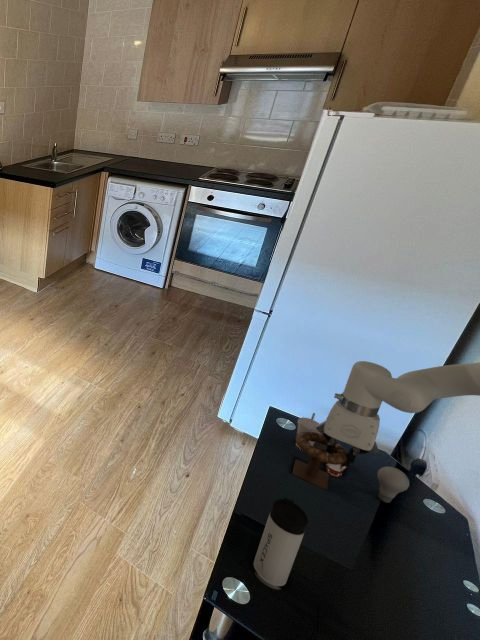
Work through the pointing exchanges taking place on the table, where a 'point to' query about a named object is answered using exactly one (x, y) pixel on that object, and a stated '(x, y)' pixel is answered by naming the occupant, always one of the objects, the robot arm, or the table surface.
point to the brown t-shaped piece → (312, 471)
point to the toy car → (335, 469)
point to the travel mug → (280, 543)
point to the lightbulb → (391, 483)
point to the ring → (335, 458)
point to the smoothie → (307, 426)
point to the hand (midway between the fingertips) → (338, 458)
